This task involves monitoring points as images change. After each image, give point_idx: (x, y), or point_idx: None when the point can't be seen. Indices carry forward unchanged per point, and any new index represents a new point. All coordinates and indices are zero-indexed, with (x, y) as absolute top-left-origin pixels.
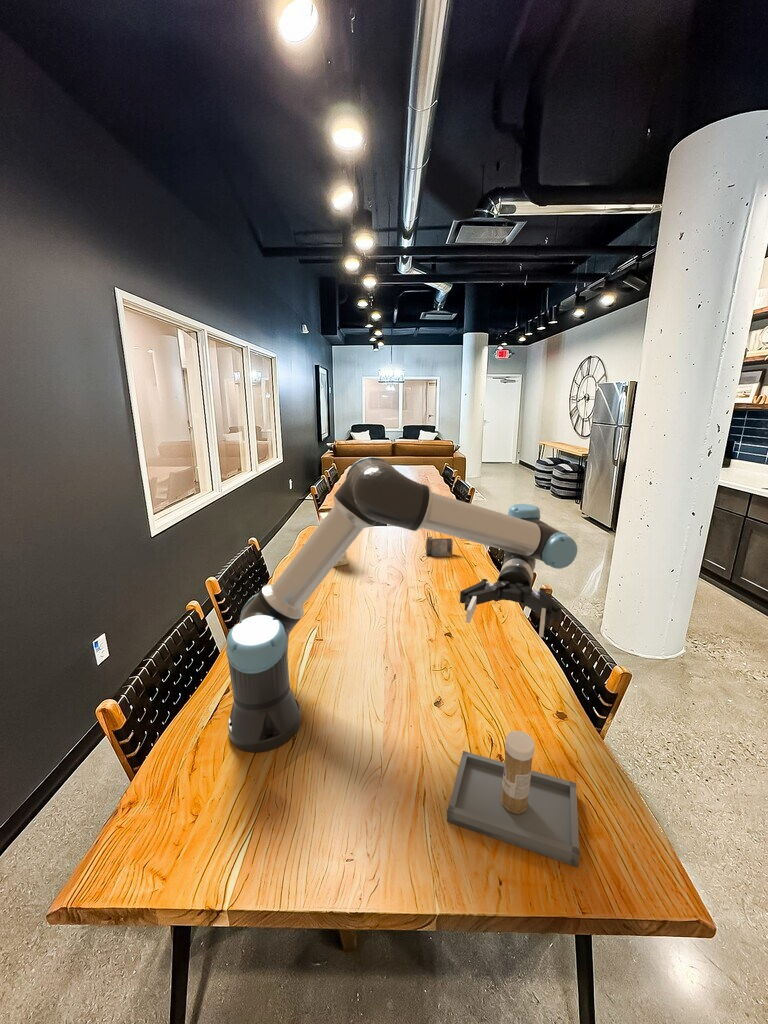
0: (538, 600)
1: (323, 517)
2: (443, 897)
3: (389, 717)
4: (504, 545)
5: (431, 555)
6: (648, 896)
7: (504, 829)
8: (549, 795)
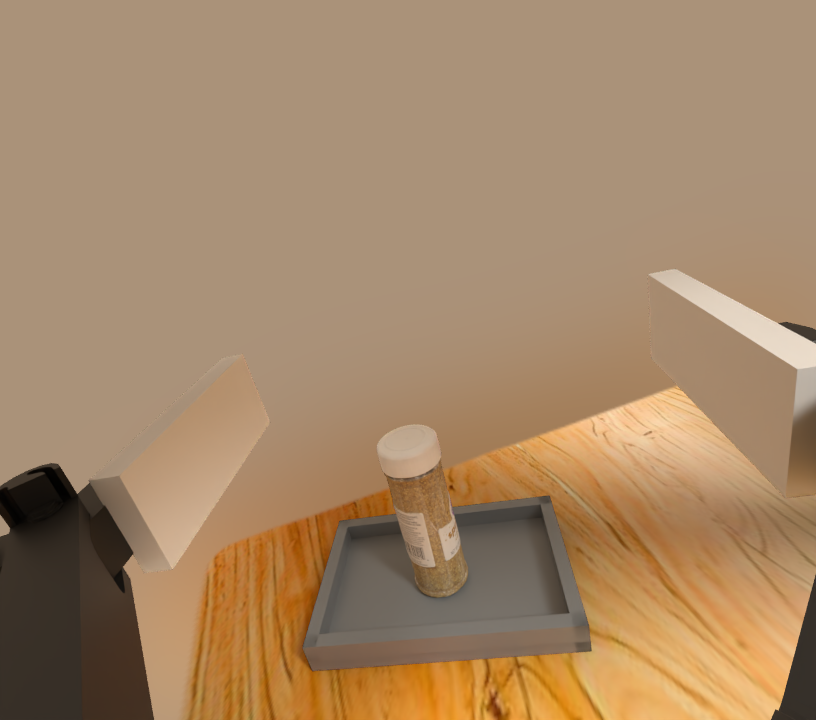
0: (20, 626)
1: None
2: (513, 452)
3: None
4: None
5: None
6: (262, 546)
7: None
8: (369, 623)
